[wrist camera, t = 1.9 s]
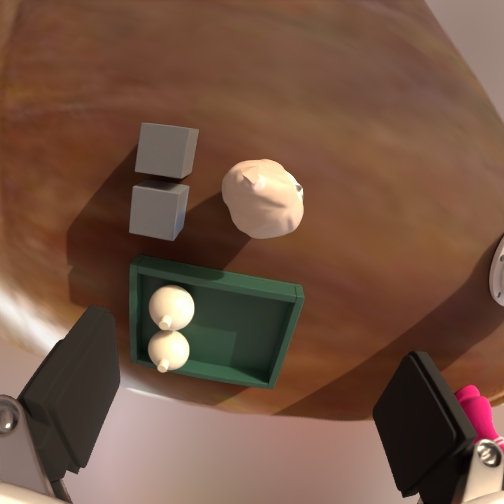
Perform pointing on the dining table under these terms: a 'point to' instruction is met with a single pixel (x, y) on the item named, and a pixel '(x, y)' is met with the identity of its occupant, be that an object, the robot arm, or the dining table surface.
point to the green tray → (218, 320)
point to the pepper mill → (478, 414)
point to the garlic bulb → (263, 198)
